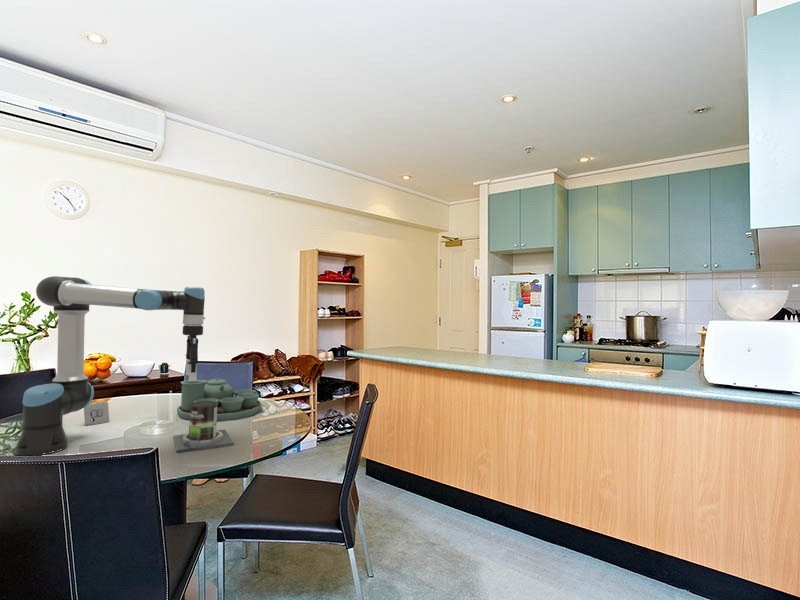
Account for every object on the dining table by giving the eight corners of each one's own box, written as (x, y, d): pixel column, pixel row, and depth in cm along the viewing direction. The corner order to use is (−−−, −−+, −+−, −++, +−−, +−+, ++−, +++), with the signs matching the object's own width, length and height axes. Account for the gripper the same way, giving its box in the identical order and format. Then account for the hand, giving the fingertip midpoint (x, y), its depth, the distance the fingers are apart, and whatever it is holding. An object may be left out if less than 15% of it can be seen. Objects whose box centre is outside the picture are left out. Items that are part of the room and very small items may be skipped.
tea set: (216, 426, 200) (217, 390, 200) (159, 415, 219) (160, 381, 219) (278, 409, 236) (279, 378, 236) (225, 400, 254) (225, 371, 254)
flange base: (176, 452, 164) (177, 446, 164) (173, 438, 182) (173, 432, 182) (233, 445, 175) (233, 438, 175) (224, 431, 192) (225, 426, 192)
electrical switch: (85, 426, 196) (85, 405, 197) (81, 425, 199) (81, 404, 200) (109, 422, 203) (109, 401, 204) (105, 421, 206) (105, 401, 207)
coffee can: (204, 444, 172) (205, 407, 172) (182, 441, 175) (183, 405, 175) (222, 436, 181) (223, 402, 182) (201, 434, 184) (202, 400, 185)
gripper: (207, 327, 171) (204, 382, 170) (199, 323, 192) (197, 372, 192) (185, 327, 167) (183, 383, 167) (180, 323, 188) (178, 373, 188)
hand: (190, 377), depth 179 cm, fingers open, 13 cm apart
